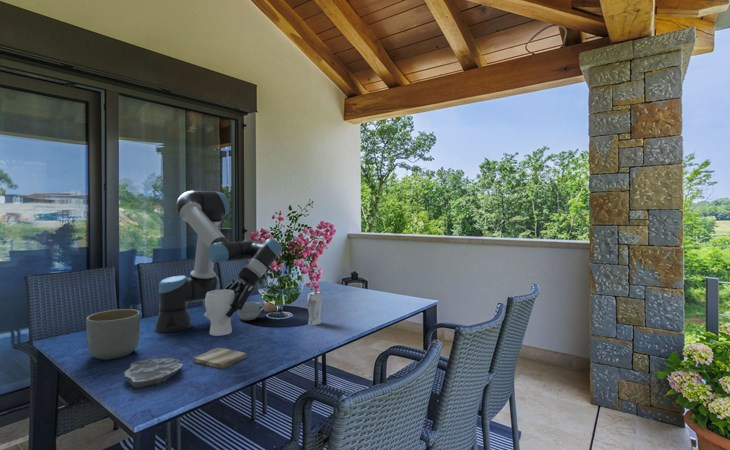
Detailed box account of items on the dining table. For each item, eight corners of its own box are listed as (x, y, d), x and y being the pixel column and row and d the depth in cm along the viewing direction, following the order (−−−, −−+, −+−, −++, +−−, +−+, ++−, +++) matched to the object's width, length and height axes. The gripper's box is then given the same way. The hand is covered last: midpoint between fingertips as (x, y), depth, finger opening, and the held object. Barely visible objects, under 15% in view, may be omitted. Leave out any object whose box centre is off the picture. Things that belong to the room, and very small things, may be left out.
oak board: (193, 361, 139) (193, 357, 139) (218, 351, 150) (218, 347, 150) (222, 368, 134) (222, 364, 134) (246, 357, 145) (246, 353, 144)
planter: (100, 367, 134) (99, 323, 133) (78, 357, 143) (77, 316, 142) (149, 352, 148) (148, 313, 147) (126, 344, 157) (126, 306, 156)
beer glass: (319, 325, 184) (319, 294, 184) (305, 325, 185) (305, 294, 185) (323, 321, 191) (323, 291, 190) (310, 321, 192) (310, 291, 192)
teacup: (239, 323, 187) (239, 306, 187) (235, 317, 197) (235, 302, 197) (268, 319, 194) (268, 304, 194) (263, 314, 203) (263, 299, 203)
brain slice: (188, 380, 125) (188, 371, 125) (126, 394, 115) (126, 385, 115) (177, 361, 141) (177, 353, 141) (122, 372, 131) (122, 363, 131)
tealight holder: (260, 310, 211) (260, 300, 210) (269, 307, 218) (269, 297, 218) (272, 312, 207) (272, 302, 207) (281, 309, 215) (281, 299, 214)
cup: (198, 335, 138) (198, 293, 138) (219, 326, 148) (219, 288, 148) (222, 338, 134) (221, 296, 134) (242, 330, 144) (242, 290, 144)
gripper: (274, 282, 144) (235, 333, 133) (243, 275, 160) (206, 319, 149) (261, 270, 140) (220, 321, 129) (231, 263, 156) (192, 308, 145)
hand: (213, 320), depth 139 cm, fingers closed on cup, 10 cm apart
